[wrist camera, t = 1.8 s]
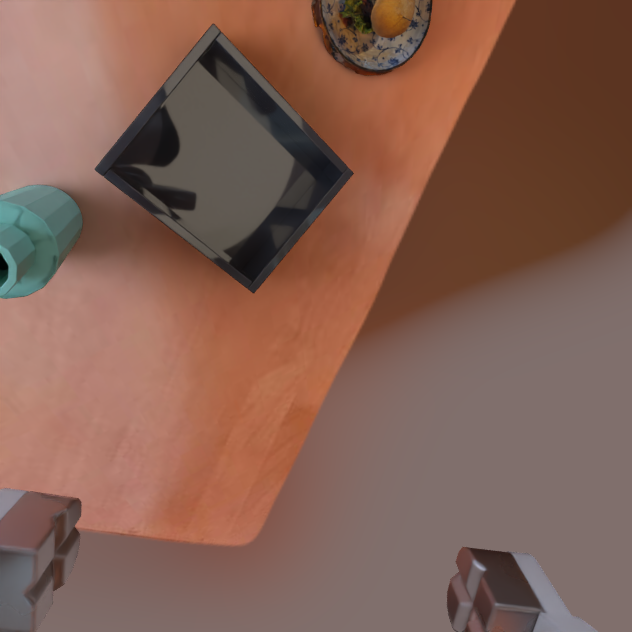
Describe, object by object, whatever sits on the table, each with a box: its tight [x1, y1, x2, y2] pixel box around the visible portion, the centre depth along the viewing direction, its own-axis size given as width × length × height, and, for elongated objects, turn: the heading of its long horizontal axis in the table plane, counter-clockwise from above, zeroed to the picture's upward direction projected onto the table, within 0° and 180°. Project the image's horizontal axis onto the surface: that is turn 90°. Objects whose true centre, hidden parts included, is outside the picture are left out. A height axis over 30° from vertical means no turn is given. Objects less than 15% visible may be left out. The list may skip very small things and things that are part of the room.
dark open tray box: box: [95, 24, 354, 293], centre depth 43 cm, size 17×15×6 cm
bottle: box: [0, 185, 83, 299], centre depth 34 cm, size 6×6×20 cm
